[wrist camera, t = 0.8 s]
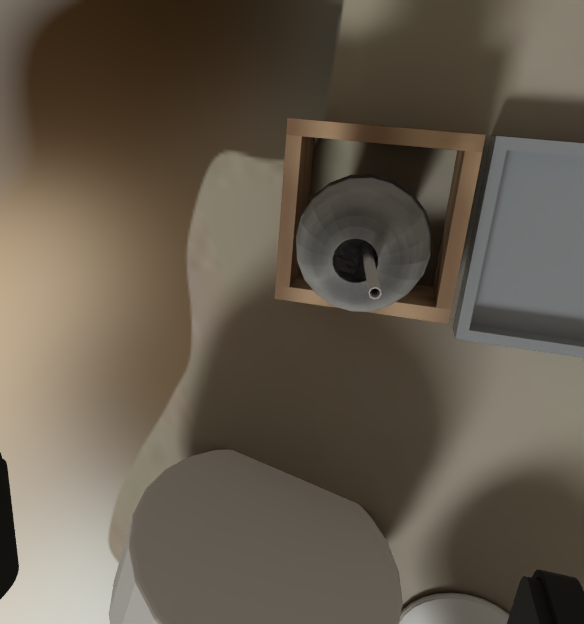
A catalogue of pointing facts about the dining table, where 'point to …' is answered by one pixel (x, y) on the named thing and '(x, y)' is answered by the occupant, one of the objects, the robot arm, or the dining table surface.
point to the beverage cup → (363, 242)
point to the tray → (527, 250)
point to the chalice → (452, 610)
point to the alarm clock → (251, 551)
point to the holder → (440, 297)
